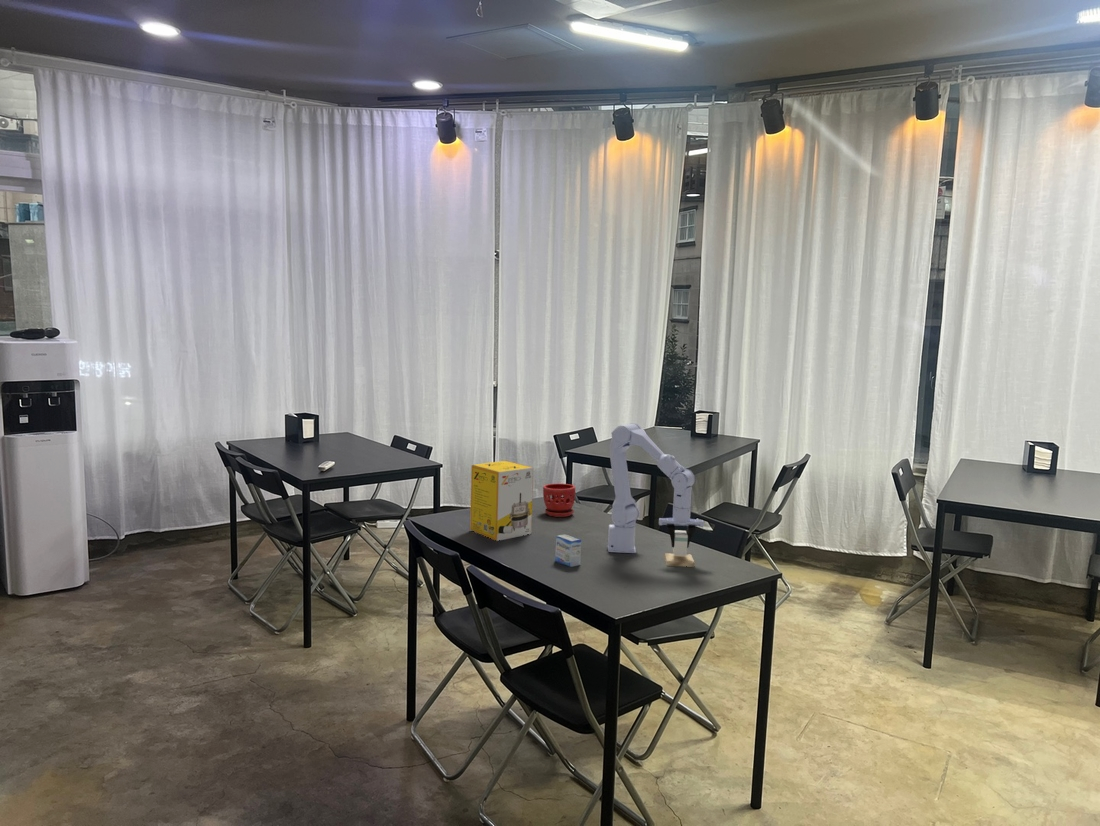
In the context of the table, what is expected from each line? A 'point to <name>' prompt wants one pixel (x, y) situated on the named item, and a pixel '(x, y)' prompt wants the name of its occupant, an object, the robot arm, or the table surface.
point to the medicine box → (568, 550)
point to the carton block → (680, 543)
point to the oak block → (679, 560)
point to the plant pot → (559, 499)
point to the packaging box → (501, 499)
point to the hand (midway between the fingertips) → (679, 546)
